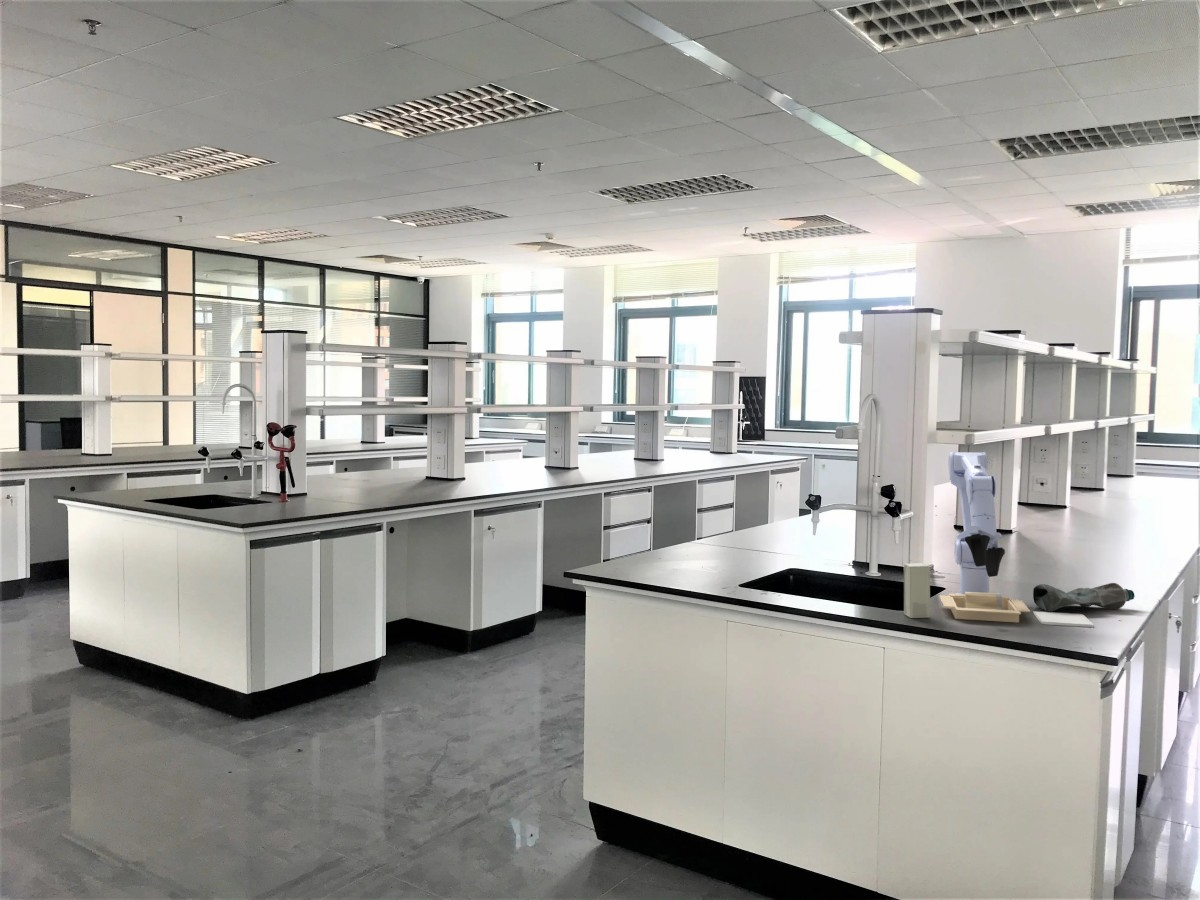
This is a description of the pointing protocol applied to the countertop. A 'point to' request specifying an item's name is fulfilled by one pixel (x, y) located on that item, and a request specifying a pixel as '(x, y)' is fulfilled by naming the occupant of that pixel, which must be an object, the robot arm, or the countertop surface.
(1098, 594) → the crushed plastic bottle
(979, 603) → the block
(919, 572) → the box
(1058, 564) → the countertop surface
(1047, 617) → the mat
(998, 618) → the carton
